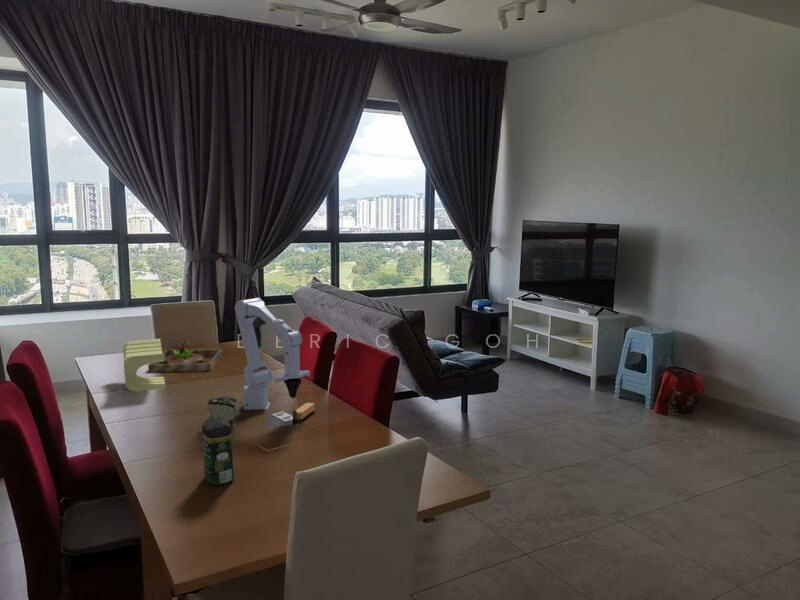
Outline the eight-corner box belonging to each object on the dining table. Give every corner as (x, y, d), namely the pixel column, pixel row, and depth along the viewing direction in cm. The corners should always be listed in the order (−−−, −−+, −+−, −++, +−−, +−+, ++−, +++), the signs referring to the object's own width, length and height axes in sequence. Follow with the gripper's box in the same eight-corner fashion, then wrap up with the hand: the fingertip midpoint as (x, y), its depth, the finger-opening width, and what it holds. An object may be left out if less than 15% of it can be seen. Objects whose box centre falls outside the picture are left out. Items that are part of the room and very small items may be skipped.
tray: (266, 427, 227) (266, 413, 226) (271, 413, 241) (271, 400, 240) (299, 426, 228) (299, 413, 227) (302, 412, 242) (302, 399, 242)
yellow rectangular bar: (301, 419, 231) (301, 413, 231) (293, 418, 232) (293, 411, 232) (315, 409, 242) (315, 403, 242) (307, 408, 243) (307, 402, 243)
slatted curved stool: (125, 379, 284) (123, 341, 281) (162, 375, 291) (160, 338, 288) (126, 398, 257) (123, 357, 254) (166, 393, 264) (164, 353, 261)
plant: (211, 363, 313) (210, 342, 311) (173, 370, 300) (172, 348, 298) (193, 355, 327) (192, 335, 326) (157, 362, 314) (155, 341, 312)
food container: (246, 424, 230) (245, 398, 228) (236, 430, 224) (235, 403, 222) (218, 420, 234) (217, 394, 232) (208, 425, 228) (206, 399, 226)
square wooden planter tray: (148, 372, 296) (148, 364, 295) (166, 356, 324) (165, 350, 324) (210, 371, 298) (210, 364, 298) (222, 355, 327) (221, 349, 326)
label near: (285, 422, 230) (285, 421, 230) (278, 418, 234) (278, 417, 234) (296, 419, 233) (296, 418, 233) (289, 415, 237) (289, 414, 237)
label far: (278, 418, 234) (278, 417, 234) (271, 415, 237) (271, 414, 237) (289, 415, 237) (289, 414, 237) (283, 412, 241) (283, 411, 241)
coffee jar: (201, 476, 187) (198, 417, 184) (227, 470, 191) (225, 413, 188) (210, 488, 179) (207, 428, 176) (236, 482, 183) (234, 423, 180)
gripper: (280, 368, 226) (281, 403, 228) (314, 361, 235) (314, 395, 237) (271, 364, 231) (271, 399, 233) (304, 357, 240) (304, 391, 242)
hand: (292, 397), depth 235 cm, fingers closed
